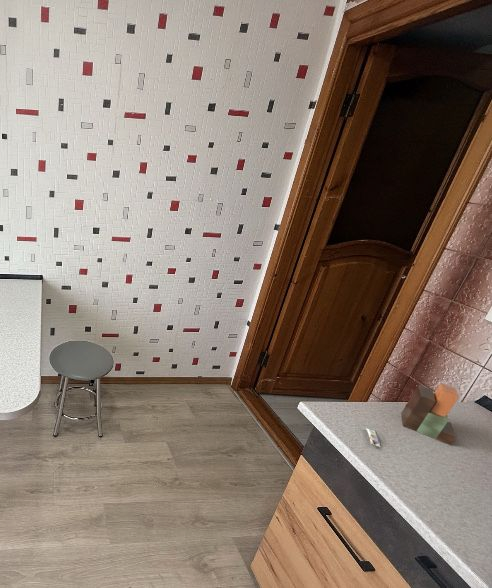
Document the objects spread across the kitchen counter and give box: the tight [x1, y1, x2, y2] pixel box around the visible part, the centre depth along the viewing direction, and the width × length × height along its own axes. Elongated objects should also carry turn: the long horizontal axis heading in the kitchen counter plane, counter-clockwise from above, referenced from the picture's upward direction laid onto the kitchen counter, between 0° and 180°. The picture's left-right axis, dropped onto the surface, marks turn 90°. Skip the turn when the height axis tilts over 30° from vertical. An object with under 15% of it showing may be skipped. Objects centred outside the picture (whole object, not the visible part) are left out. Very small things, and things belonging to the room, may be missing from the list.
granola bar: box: [365, 427, 381, 448], centre depth 91 cm, size 7×2×1 cm, turn 150°
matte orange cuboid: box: [430, 383, 460, 417], centre depth 92 cm, size 3×5×7 cm, turn 140°
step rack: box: [400, 384, 457, 446], centre depth 94 cm, size 10×7×11 cm
